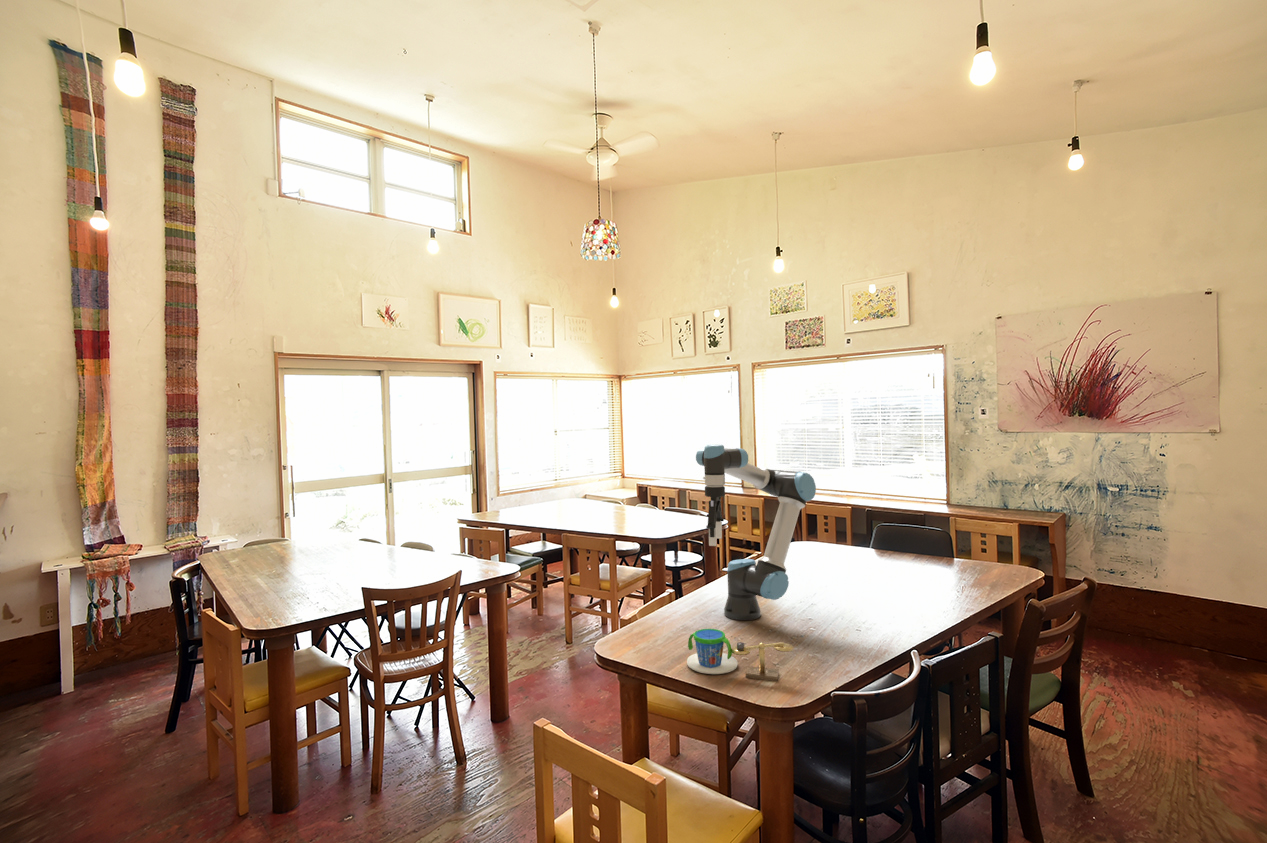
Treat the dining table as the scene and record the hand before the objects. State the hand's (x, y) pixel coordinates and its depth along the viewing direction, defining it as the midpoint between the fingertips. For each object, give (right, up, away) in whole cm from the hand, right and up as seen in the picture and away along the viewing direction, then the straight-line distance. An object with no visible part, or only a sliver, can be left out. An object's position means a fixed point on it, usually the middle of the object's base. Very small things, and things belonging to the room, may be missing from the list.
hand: (715, 542), depth 228 cm
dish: (-4, -37, -23) cm, 44 cm away
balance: (+11, -37, -32) cm, 50 cm away
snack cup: (-5, -36, -25) cm, 44 cm away
